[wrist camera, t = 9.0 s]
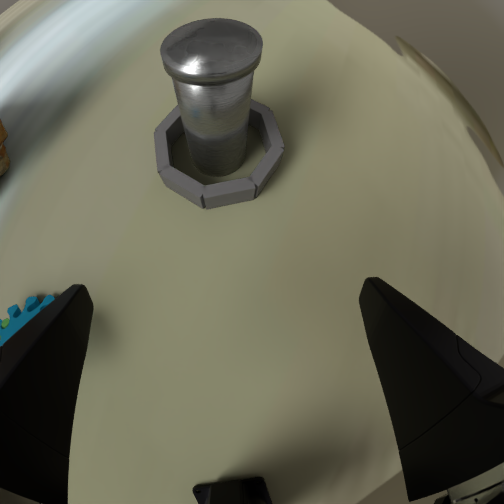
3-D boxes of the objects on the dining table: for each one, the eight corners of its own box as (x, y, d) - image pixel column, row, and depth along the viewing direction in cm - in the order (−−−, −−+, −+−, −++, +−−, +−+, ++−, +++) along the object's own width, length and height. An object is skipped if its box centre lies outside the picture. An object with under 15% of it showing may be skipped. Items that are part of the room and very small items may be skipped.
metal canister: (261, 157, 24) (283, 49, 12) (210, 191, 23) (193, 88, 11) (225, 119, 25) (224, 10, 12) (176, 149, 24) (144, 43, 11)
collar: (289, 193, 24) (295, 181, 21) (169, 218, 23) (162, 207, 20) (260, 102, 25) (262, 85, 23) (157, 121, 24) (151, 105, 22)
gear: (90, 298, 19) (29, 402, 11) (114, 345, 23) (72, 438, 14) (13, 281, 20) (-40, 353, 12) (37, 323, 24) (-5, 392, 15)
